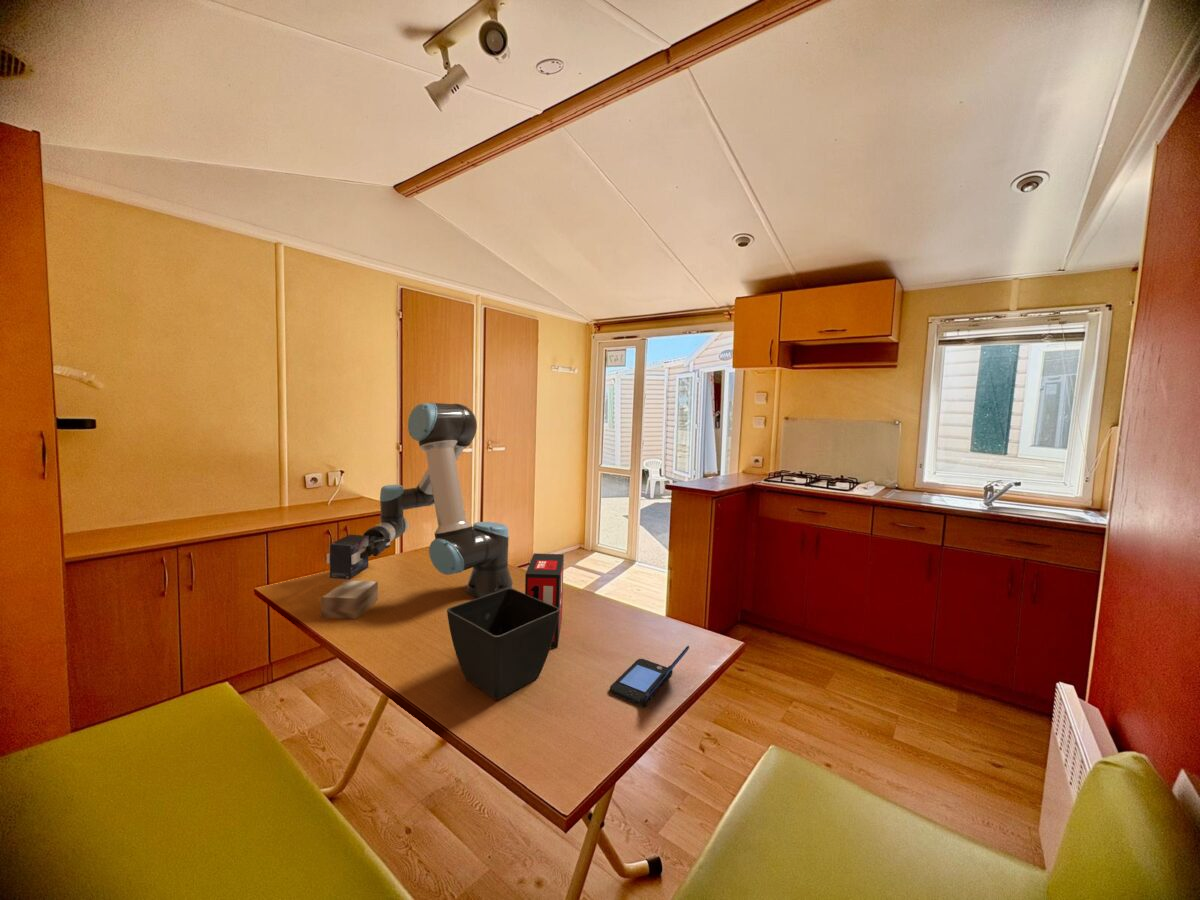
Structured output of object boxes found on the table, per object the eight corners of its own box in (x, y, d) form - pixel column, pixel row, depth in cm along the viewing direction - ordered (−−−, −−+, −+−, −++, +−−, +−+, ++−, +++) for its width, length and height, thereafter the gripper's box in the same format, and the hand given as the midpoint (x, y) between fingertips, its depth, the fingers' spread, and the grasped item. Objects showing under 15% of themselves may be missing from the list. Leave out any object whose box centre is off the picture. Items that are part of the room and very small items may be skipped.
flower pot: (508, 647, 120) (509, 585, 119) (560, 675, 108) (562, 607, 107) (444, 678, 106) (444, 608, 104) (495, 715, 94) (496, 637, 92)
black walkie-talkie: (639, 662, 116) (640, 627, 115) (689, 681, 109) (691, 643, 108) (607, 694, 103) (608, 654, 102) (661, 717, 95) (663, 675, 95)
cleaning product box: (532, 618, 137) (533, 553, 135) (561, 619, 137) (563, 554, 135) (523, 647, 121) (525, 573, 119) (557, 647, 121) (559, 574, 119)
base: (377, 600, 145) (377, 581, 145) (356, 619, 132) (355, 598, 132) (346, 599, 145) (346, 579, 145) (321, 617, 132) (321, 597, 132)
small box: (350, 580, 132) (350, 545, 131) (328, 579, 132) (328, 544, 131) (370, 567, 143) (369, 534, 142) (349, 566, 143) (349, 533, 142)
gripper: (407, 548, 155) (374, 573, 132) (350, 546, 155) (307, 570, 132) (407, 526, 155) (373, 548, 132) (350, 524, 155) (306, 545, 132)
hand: (340, 559), depth 132 cm, fingers closed on small box, 6 cm apart
